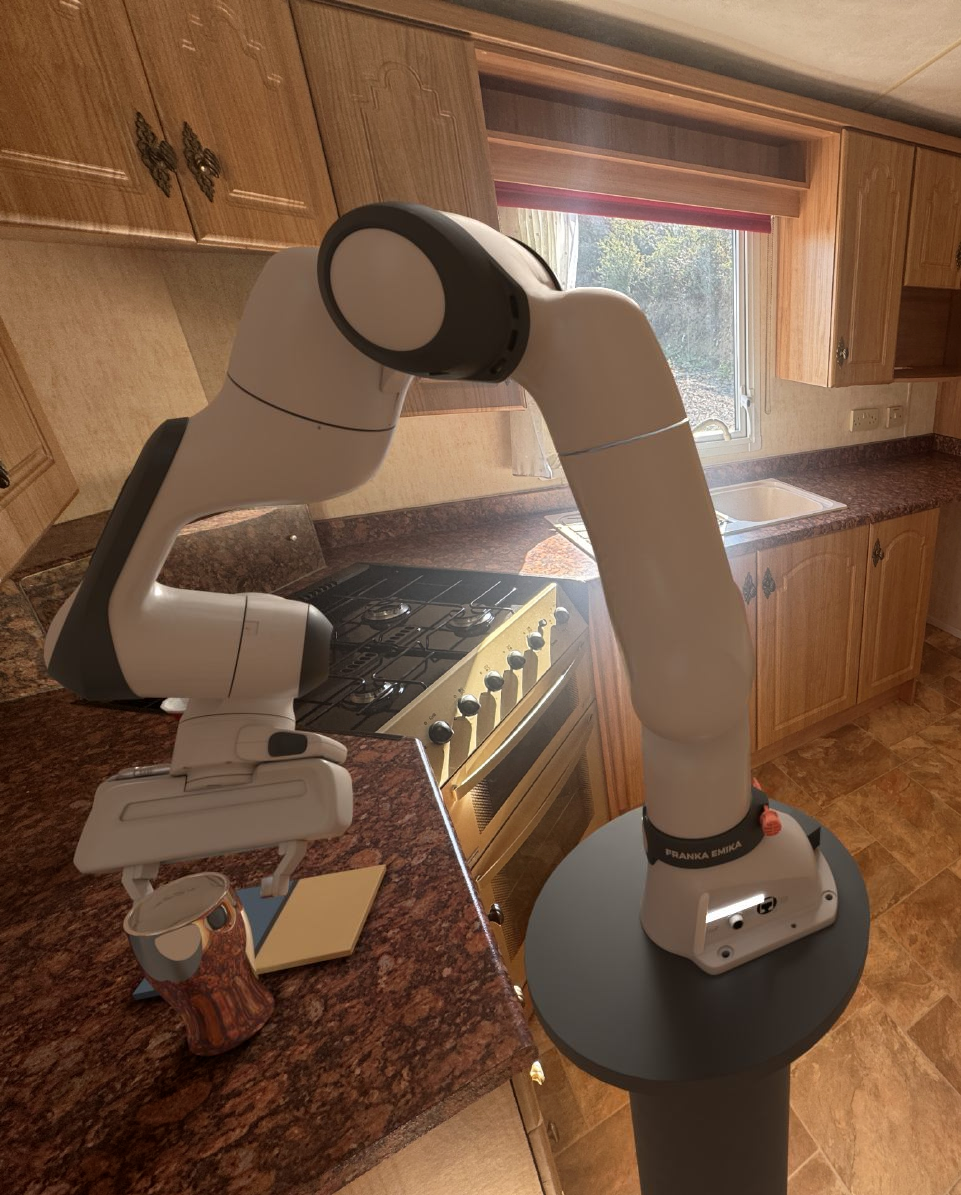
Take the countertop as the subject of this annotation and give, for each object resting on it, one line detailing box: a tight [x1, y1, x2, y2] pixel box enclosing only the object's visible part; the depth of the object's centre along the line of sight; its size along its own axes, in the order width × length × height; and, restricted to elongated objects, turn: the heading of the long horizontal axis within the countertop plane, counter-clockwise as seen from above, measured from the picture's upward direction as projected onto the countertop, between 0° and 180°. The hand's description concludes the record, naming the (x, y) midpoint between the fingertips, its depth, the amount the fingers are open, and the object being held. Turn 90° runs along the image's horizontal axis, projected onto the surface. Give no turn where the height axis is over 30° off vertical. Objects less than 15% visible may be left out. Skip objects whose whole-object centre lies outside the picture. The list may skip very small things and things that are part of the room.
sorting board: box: [131, 863, 387, 1001], centre depth 67 cm, size 18×12×1 cm, turn 106°
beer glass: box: [122, 871, 276, 1057], centre depth 55 cm, size 7×7×15 cm
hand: (211, 908), depth 56 cm, fingers open, 8 cm apart
